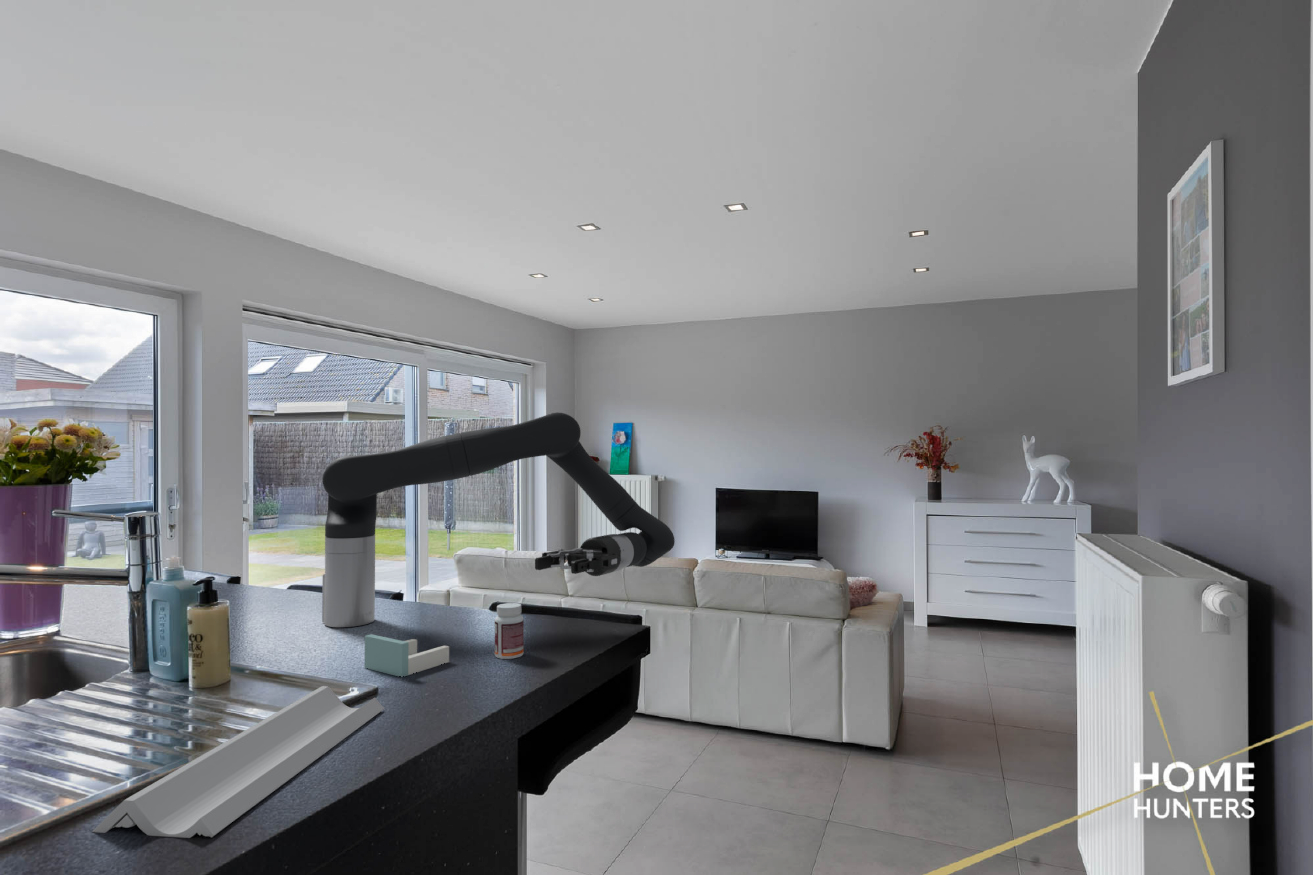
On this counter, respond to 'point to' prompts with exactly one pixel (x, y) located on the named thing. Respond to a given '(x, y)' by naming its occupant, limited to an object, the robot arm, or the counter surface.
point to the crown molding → (241, 769)
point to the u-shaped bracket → (401, 656)
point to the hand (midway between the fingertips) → (554, 566)
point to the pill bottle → (509, 631)
